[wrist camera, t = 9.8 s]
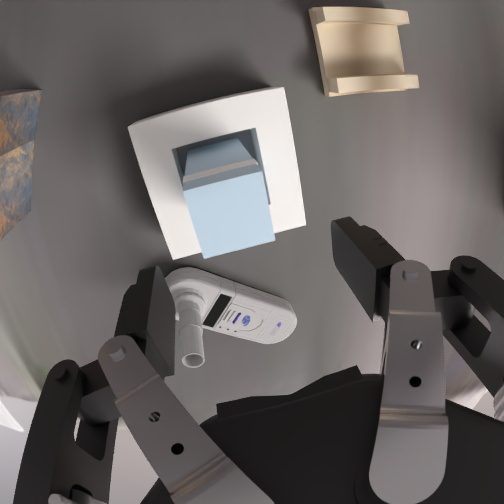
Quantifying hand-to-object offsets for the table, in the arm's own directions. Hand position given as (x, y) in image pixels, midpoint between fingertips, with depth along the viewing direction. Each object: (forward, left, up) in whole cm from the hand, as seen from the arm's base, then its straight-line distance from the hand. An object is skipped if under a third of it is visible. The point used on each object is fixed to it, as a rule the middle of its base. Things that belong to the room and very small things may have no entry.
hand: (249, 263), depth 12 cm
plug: (0, 0, -15) cm, 15 cm away
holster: (-14, -8, -16) cm, 22 cm away
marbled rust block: (+17, -7, -16) cm, 25 cm away
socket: (0, 0, -16) cm, 16 cm away
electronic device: (+3, +15, -16) cm, 22 cm away
